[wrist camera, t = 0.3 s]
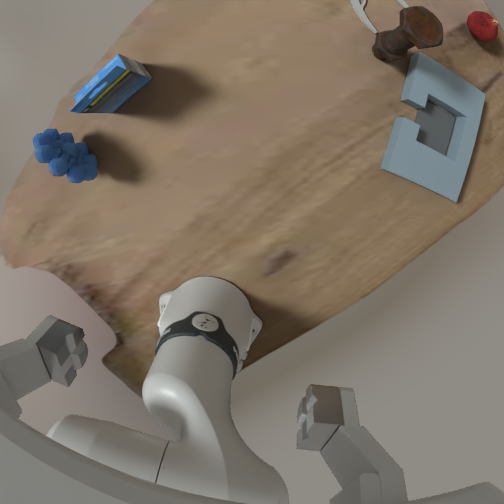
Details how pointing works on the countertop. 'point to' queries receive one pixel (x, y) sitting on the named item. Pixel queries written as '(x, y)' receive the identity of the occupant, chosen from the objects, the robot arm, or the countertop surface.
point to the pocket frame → (435, 128)
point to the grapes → (65, 156)
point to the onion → (483, 26)
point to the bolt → (409, 34)
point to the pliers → (362, 15)
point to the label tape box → (111, 86)
